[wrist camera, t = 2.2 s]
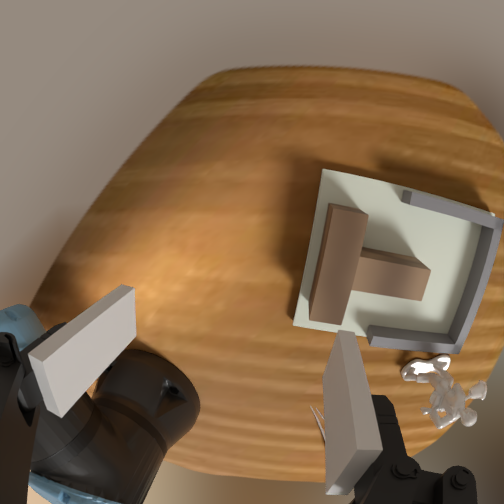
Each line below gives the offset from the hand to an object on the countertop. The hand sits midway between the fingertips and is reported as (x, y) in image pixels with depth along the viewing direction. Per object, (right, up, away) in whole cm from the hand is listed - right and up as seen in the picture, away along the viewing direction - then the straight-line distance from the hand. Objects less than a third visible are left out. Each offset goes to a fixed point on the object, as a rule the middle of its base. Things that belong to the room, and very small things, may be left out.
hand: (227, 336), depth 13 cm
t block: (+12, +3, +15) cm, 19 cm away
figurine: (+24, -10, +18) cm, 31 cm away
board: (+16, +2, +15) cm, 22 cm away
